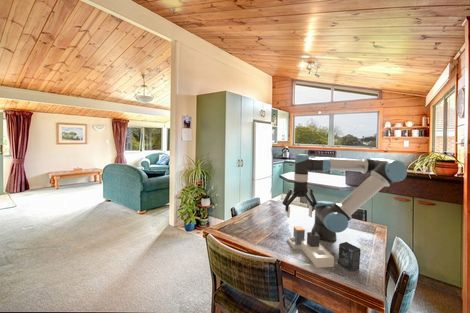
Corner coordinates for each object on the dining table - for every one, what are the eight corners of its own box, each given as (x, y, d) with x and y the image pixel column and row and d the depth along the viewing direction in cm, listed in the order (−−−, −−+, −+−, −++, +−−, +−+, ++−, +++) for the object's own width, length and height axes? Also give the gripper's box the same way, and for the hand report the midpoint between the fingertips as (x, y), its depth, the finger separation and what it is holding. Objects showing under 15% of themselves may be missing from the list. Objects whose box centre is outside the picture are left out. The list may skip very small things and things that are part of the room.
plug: (300, 242, 132) (301, 226, 131) (304, 246, 127) (304, 229, 126) (293, 242, 131) (293, 226, 131) (296, 246, 127) (296, 229, 126)
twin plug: (314, 249, 123) (315, 226, 122) (318, 253, 118) (320, 230, 117) (306, 249, 122) (307, 227, 121) (310, 254, 117) (311, 230, 116)
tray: (303, 240, 135) (303, 236, 135) (310, 249, 125) (310, 244, 125) (287, 241, 134) (287, 237, 134) (293, 249, 124) (293, 245, 123)
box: (337, 263, 110) (338, 243, 110) (345, 261, 113) (346, 241, 112) (351, 272, 103) (352, 250, 102) (359, 269, 106) (361, 248, 105)
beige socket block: (327, 248, 126) (328, 239, 126) (346, 266, 108) (347, 256, 108) (301, 249, 124) (301, 240, 124) (316, 267, 106) (316, 257, 106)
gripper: (318, 179, 131) (316, 214, 133) (278, 179, 129) (276, 214, 130) (324, 182, 124) (322, 218, 126) (282, 182, 121) (280, 219, 123)
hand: (299, 216), depth 128 cm, fingers open, 13 cm apart
